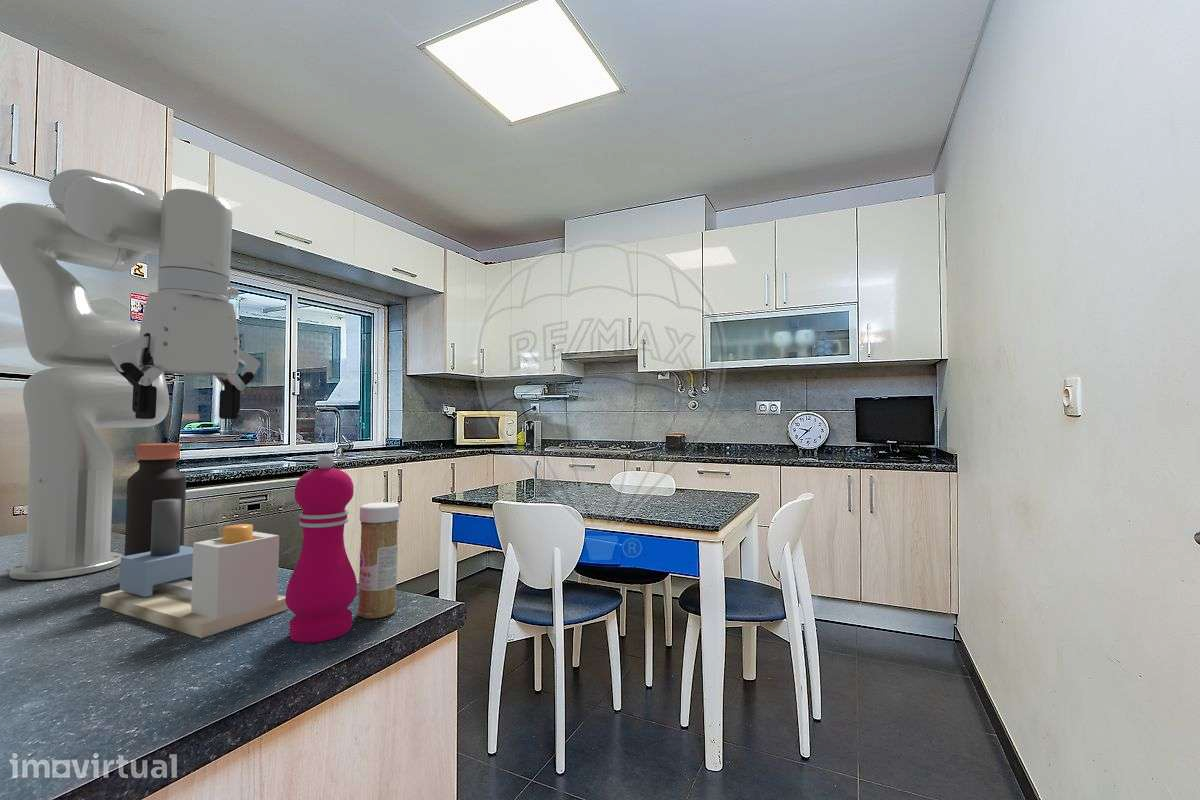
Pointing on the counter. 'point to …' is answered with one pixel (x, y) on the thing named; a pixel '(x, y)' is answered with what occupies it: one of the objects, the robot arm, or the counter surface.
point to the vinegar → (152, 493)
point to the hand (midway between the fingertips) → (189, 418)
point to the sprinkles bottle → (378, 559)
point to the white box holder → (234, 575)
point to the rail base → (182, 609)
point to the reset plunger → (237, 533)
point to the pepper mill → (322, 557)
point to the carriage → (158, 553)
